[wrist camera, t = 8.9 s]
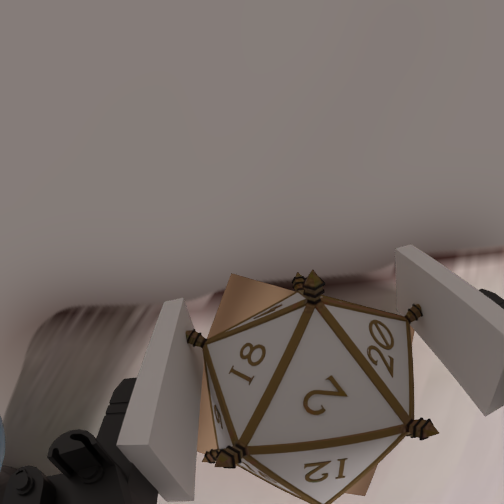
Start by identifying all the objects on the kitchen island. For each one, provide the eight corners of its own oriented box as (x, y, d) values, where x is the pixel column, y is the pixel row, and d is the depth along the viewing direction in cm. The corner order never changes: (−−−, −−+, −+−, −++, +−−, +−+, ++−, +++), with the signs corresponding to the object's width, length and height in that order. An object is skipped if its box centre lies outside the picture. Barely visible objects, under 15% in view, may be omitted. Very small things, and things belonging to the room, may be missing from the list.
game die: (285, 365, 18) (269, 196, 13) (425, 412, 13) (483, 229, 8) (178, 478, 12) (71, 313, 7) (343, 570, 7) (439, 515, 2)
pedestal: (183, 434, 20) (170, 439, 17) (237, 287, 25) (231, 273, 22) (355, 484, 17) (364, 495, 15) (401, 331, 22) (415, 323, 19)
